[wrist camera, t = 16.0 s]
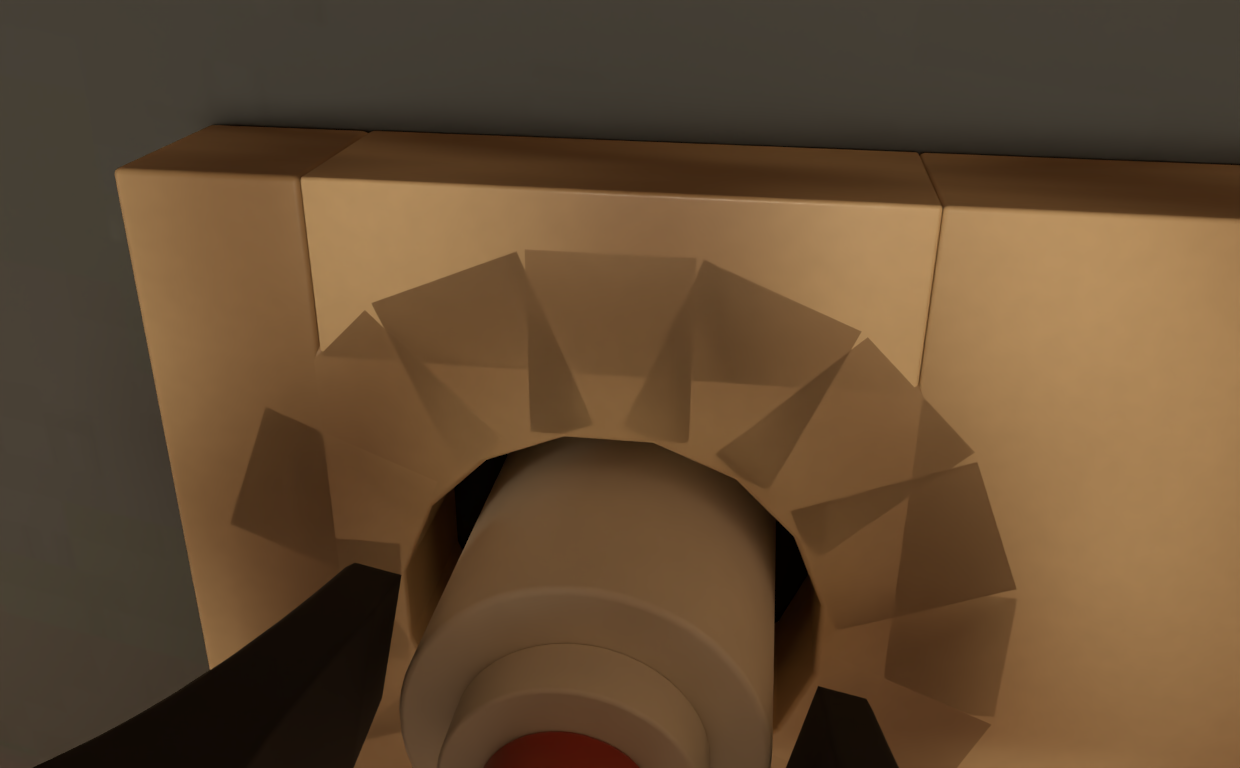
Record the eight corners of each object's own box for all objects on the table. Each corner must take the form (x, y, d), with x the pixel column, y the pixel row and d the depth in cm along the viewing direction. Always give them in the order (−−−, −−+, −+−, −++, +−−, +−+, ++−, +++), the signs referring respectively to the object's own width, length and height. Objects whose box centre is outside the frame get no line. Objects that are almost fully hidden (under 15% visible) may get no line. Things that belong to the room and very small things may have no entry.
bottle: (734, 658, 18) (706, 1079, 12) (477, 590, 18) (315, 971, 12) (811, 432, 16) (827, 792, 10) (523, 357, 16) (359, 666, 10)
